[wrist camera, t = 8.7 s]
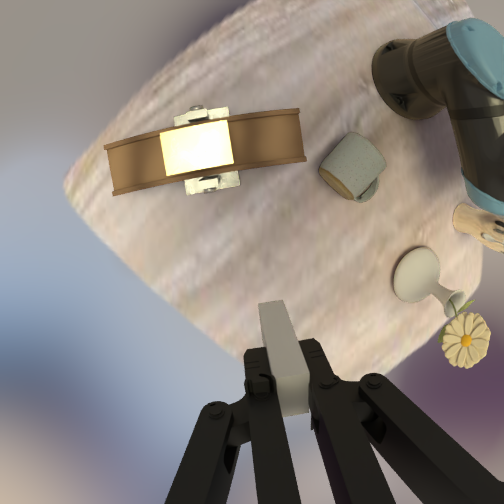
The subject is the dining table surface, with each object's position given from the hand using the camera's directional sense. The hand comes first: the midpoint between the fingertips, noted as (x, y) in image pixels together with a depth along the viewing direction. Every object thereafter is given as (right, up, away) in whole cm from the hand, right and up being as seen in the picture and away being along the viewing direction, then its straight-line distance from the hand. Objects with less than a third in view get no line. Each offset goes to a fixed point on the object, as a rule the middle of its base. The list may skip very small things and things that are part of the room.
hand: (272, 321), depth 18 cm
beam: (-7, +17, +16) cm, 24 cm away
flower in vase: (+30, 0, +34) cm, 45 cm away
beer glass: (+42, +11, +31) cm, 53 cm away
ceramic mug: (+14, +17, +27) cm, 35 cm away
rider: (-7, +16, +15) cm, 24 cm away
